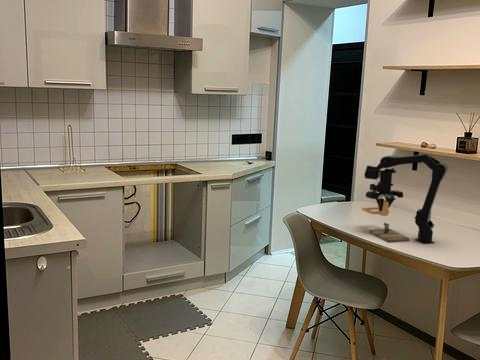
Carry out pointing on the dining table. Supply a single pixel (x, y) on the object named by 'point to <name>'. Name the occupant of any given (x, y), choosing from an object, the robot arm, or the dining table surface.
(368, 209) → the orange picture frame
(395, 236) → the hook plate
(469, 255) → the dining table surface
